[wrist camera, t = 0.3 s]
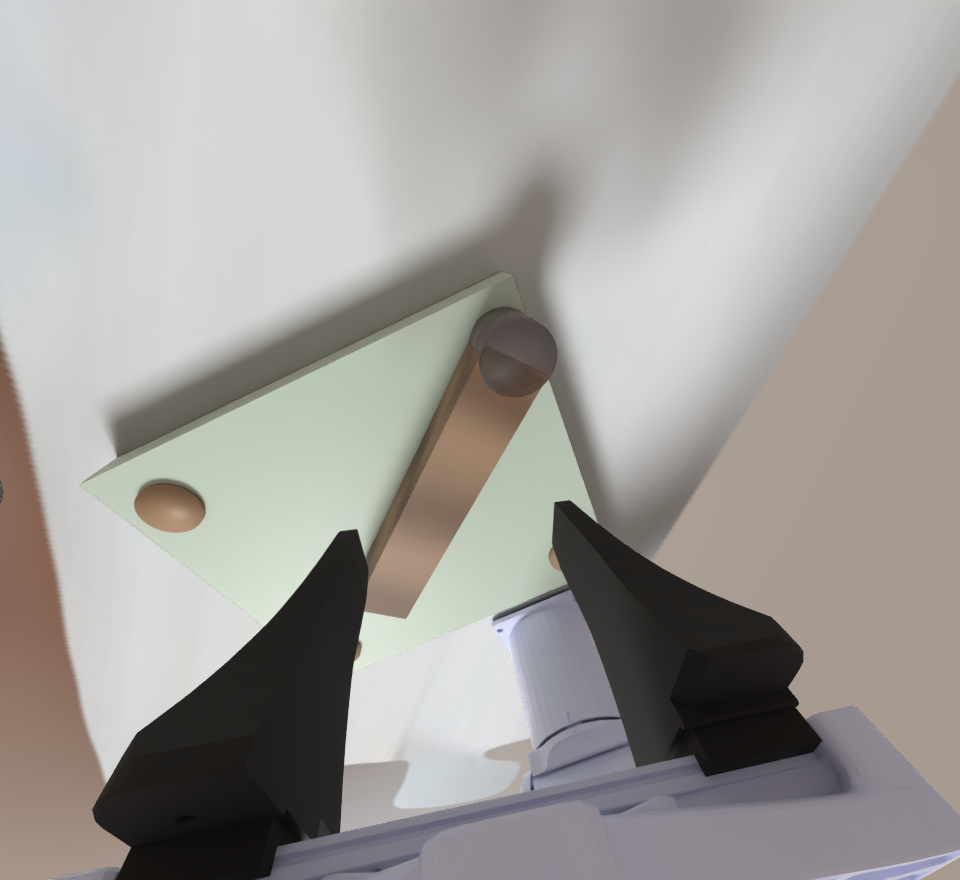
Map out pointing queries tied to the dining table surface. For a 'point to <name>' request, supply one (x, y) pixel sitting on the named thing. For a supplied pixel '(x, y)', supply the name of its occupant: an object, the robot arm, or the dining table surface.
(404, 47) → the dining table surface
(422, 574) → the folding leg
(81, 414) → the dining table surface
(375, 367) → the stool seat
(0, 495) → the salt shaker
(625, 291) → the dining table surface
